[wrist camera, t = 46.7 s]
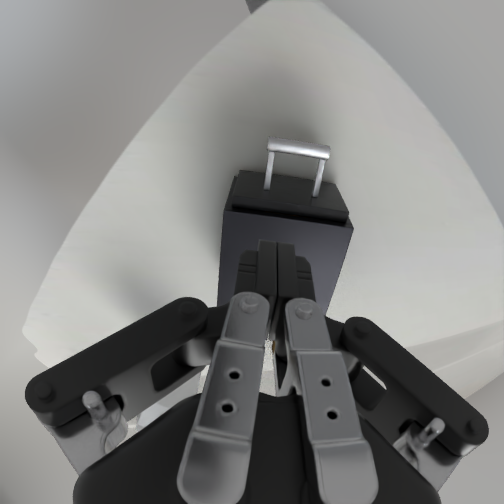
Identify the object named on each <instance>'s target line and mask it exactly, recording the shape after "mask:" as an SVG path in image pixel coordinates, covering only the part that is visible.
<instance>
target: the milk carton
mask: <svg viewBox="0 0 504 504" xmlns="http://www.w3.org/2000/svg"><path fill="white" fill-rule="evenodd" d="M200 375H201V372H199V373H198V374H197V375H195V376H194V377H192V378H191V379H190V380H188V381H187V382H185V383H184V384H182V385H181V386H180V387H178V388H177V389H175V390H174V391H172V392H171V393H169V394H168V395H167V396H165V397H164V398H162V399H161V400H159V401H158V402H156V403H155V404H153V405H152V406H150V407H149V408H147V409H146V410H144V411H143V412H141V413H140V414H138V415H137V426H136V429H135V431H137V432H139V431H140V430H142V429H143V428H144V427H146V426H147V425H149V424H150V423H151V422H153V421H154V420H155V419H157V418H158V417H159V416H161V415H162V414H163V413H165V412H166V411H167V410H169V409H170V408H171V407H173V406H174V405H175V404H177V403H178V402H180V401H181V400H183V399H185V398H187V397H190V396H192V395H196V394H197V391H198V386H199V381H200Z"/></svg>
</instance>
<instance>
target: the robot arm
mask: <svg viewBox="0 0 504 504" xmlns="http://www.w3.org/2000/svg"><path fill="white" fill-rule="evenodd" d="M268 333H269V340H271V341H275V350H274V354H273V365H274V378H275V390H276V397H275V396H271V395H268V394H264V393H261V392H259V389H260V382H261V375H262V368H263V361H264V353H265V347H264V345H265V340H267V338H268ZM206 365H210V366H209V370H208V373H207V377H206V381H205V384H204V388H203V391H202V393H199V394H196V395H192V396H190V397H187V398H185V399H183V400H181V401H180V402H178V403H177V404H175V405H174V406H173V407H171V408H170V409H169V410H167V411H166V412H165V413H163V414H162V415H161V416H159V417H158V418H157V419H155V420H154V421H153V422H151V423H150V424H149V425H147V426H146V427H144V428H143V429H142V430H140V431H139V432H138V433H136V434H135V435H133V436H132V437H131V438H129V439H128V440H126V441H125V442H124V443H122V444H121V445H119V446H118V447H116V446H117V445H118V444H119V443H120V442H121V441H122V440H123V439H124V438H125V437H126V435H127V432H128V424H127V421H129V420H131V419H132V418H134V417H135V416H137V415H138V414H140V413H141V412H143V411H144V410H146V409H147V408H149V407H150V406H152V405H153V404H155V403H156V402H158V401H159V400H161V399H162V398H164V397H165V396H167V395H168V394H169V393H171V392H172V391H174V390H175V389H177V388H178V387H180V386H181V385H182V384H184V383H185V382H187V381H188V380H190V379H191V378H192V377H194V376H195V375H197V374H198V373H199V372H201V371H202V370H203V369H204V368H205V367H206ZM364 365H365V366H366V367H367V368H368V369H369V370H370V371H371V372H372V373H373V374H375V375H376V376H377V377H378V378H379V379H380V380H381V381H382V382H383V383H384V384H385V386H386V389H387V390H386V389H384V388H383V387H382V386H381V385H380V384H379V383H378V382H377V381H376V380H375V379H373V378H372V377H371V376H370V375H369V374H368V373H367V372H366V371H365V370H364V369H363V367H364ZM25 399H26V402H27V404H28V405H29V407H30V408H31V409H32V410H33V412H34V413H35V414H36V416H37V418H38V419H39V420H40V422H41V423H42V424H43V425H44V427H45V428H46V429H47V430H48V431H49V432H50V433H51V434H52V436H54V438H55V440H56V441H57V443H58V445H59V446H60V448H61V449H62V451H63V452H64V454H65V456H66V457H67V458H68V460H69V462H70V463H71V465H72V466H73V468H74V469H75V471H76V472H77V473H78V475H79V478H78V479H77V481H76V484H75V486H74V491H73V504H441V500H440V497H439V494H438V491H439V490H440V488H441V487H442V486H443V484H444V483H445V482H446V480H447V479H448V478H449V476H450V475H451V473H452V472H453V470H454V469H455V467H456V466H457V465H458V463H459V462H460V460H461V459H462V458H463V457H465V456H466V455H468V454H469V453H470V452H472V451H473V450H474V449H476V448H477V447H478V446H479V445H481V444H482V443H483V442H484V441H485V440H486V439H487V437H488V433H489V428H488V424H487V421H486V419H485V418H484V417H483V416H482V415H481V414H480V413H479V412H478V411H477V410H476V409H475V408H473V407H472V406H471V405H470V404H469V403H468V402H467V401H465V400H464V399H463V398H462V397H461V396H460V395H459V394H457V393H456V392H455V391H454V390H453V389H452V388H450V387H449V386H448V385H447V384H446V383H445V382H443V381H442V380H441V379H440V378H439V377H438V376H436V375H435V374H434V373H433V372H432V371H431V370H429V369H428V368H427V367H426V366H425V365H424V364H422V363H421V362H420V361H419V360H418V359H416V358H415V357H414V356H413V355H412V354H410V353H409V352H408V351H407V350H406V349H405V348H403V347H402V346H401V345H400V344H399V343H397V342H396V341H395V340H394V339H393V338H391V337H390V336H389V335H388V334H387V333H385V332H384V331H383V330H382V329H381V328H379V327H378V326H377V325H376V324H375V323H373V322H372V321H370V320H369V319H366V318H363V317H351V318H349V319H348V320H347V321H346V322H345V324H344V323H341V322H338V321H335V320H333V319H330V318H328V317H327V316H325V315H324V313H323V310H322V308H321V307H320V306H319V305H318V304H317V303H316V297H315V290H314V284H313V278H312V271H311V265H310V263H309V262H308V261H307V259H306V258H305V257H302V256H295V248H294V244H290V243H283V242H277V244H276V242H274V241H267V240H259V244H258V251H254V250H245V251H244V252H243V253H242V254H241V255H240V258H239V264H238V271H237V277H236V284H235V290H234V296H233V297H232V299H231V300H230V301H229V302H228V303H226V304H225V305H222V306H219V307H211V308H208V307H207V306H206V304H205V303H204V302H202V301H201V300H199V299H196V298H192V297H183V298H179V299H177V300H174V301H173V302H171V303H169V304H167V305H165V306H164V307H162V308H160V309H158V310H156V311H154V312H153V313H151V314H149V315H147V316H145V317H143V318H142V319H140V320H138V321H136V322H134V323H132V324H131V325H129V326H127V327H125V328H123V329H121V330H120V331H118V332H116V333H114V334H112V335H110V336H109V337H107V338H105V339H103V340H101V341H99V342H98V343H96V344H94V345H92V346H90V347H88V348H87V349H85V350H83V351H81V352H79V353H77V354H76V355H74V356H72V357H70V358H68V359H66V360H64V361H63V362H61V363H59V364H57V365H55V366H53V367H52V368H50V369H48V370H46V371H44V372H42V373H41V374H39V375H37V376H35V377H34V378H32V380H31V381H30V382H29V383H28V385H27V387H26V390H25Z"/></svg>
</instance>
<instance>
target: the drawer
mask: <svg viewBox="0 0 504 504" xmlns="http://www.w3.org/2000/svg"><path fill="white" fill-rule="evenodd" d="M267 151H269V154H268V161H267V168H266V173H260V172H252V171H244V170H240V171H239V174H238V178H237V181H236V185H235V188H234V192H233V195H232V204H231V207H236V208H240V209H244V210H252V211H260V212H264V211H268V212H275V213H283V214H290V215H297V216H304V217H311V219H318V220H324V221H331V222H332V221H338V222H344V223H346V222H347V219H348V215H349V211H348V209H347V207H346V205H345V203H344V200H343V198H342V196H341V194H340V192H339V190H338V188H337V186H336V184H333V183H327V182H321V180H322V175H323V171H324V166H325V161H326V160H328V159H329V156H330V146H326V145H321V144H315V143H309V142H303V141H297V140H291V139H284V138H277V137H270V136H269V138H268V145H267ZM275 152H282V153H289V154H295V155H302V156H308V157H314V158H319V161H318V166H317V171H316V176H315V180H309V179H302V178H296V177H289V176H282V175H275V174H272V170H273V163H274V157H275Z"/></svg>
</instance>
